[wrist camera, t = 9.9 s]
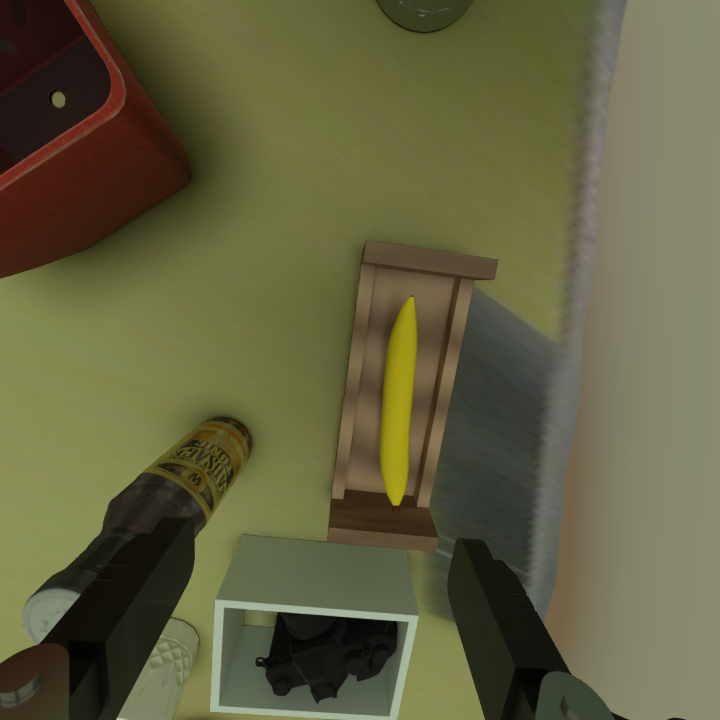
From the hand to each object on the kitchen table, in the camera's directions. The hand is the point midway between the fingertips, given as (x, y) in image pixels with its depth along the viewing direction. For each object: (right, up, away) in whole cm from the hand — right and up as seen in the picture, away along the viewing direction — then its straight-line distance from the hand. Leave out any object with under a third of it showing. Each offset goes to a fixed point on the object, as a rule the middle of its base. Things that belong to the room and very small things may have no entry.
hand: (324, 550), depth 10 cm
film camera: (-3, -21, +30) cm, 37 cm away
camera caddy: (-4, -22, +30) cm, 37 cm away
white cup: (-22, -28, +31) cm, 47 cm away
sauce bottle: (-13, -3, +25) cm, 29 cm away
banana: (+5, +3, +24) cm, 24 cm away
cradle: (+5, +3, +24) cm, 25 cm away
